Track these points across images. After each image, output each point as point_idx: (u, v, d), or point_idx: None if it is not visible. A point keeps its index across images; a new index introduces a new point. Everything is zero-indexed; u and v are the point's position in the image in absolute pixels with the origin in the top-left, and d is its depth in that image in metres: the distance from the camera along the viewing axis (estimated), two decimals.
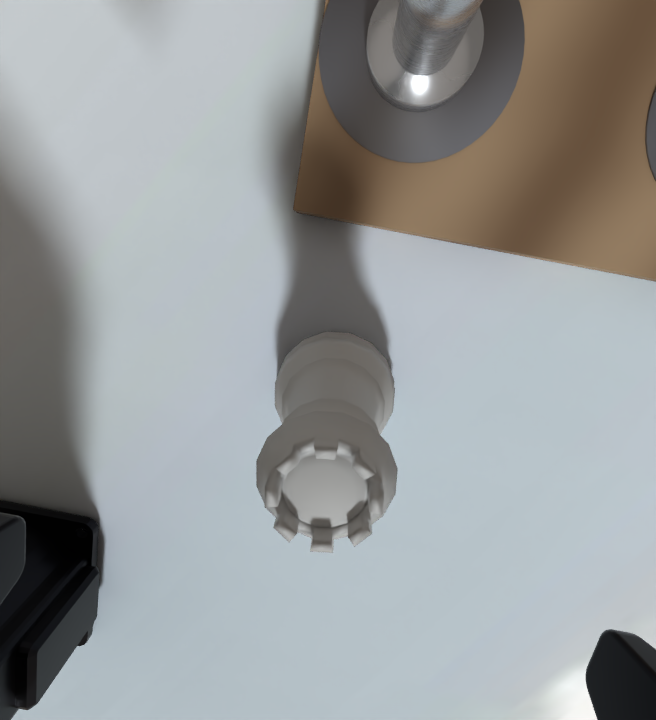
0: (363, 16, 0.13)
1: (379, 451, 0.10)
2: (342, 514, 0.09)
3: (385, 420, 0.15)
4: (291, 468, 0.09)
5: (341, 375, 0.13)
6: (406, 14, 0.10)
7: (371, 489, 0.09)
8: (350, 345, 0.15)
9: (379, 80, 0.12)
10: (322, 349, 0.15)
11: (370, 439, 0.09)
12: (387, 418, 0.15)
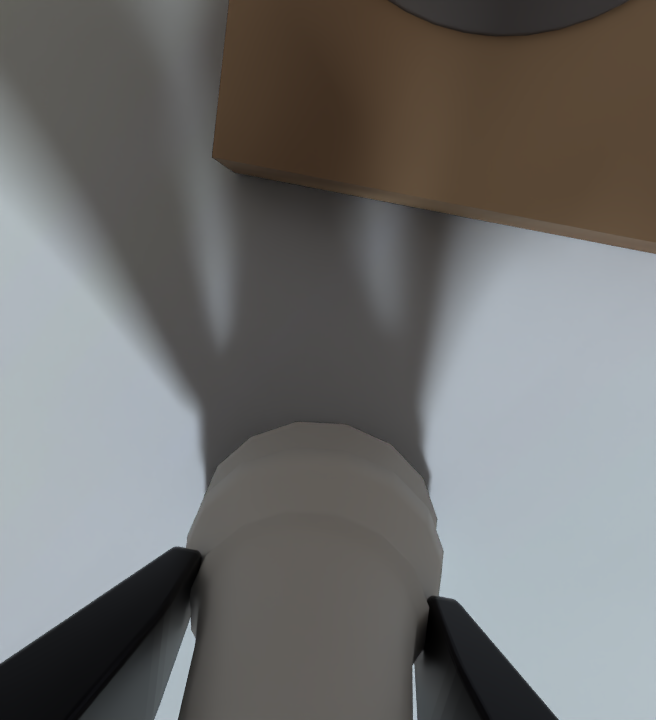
0: None
1: None
2: None
3: None
4: None
5: (324, 578, 0.05)
6: None
7: None
8: (348, 469, 0.06)
9: None
10: (284, 480, 0.06)
11: None
12: None
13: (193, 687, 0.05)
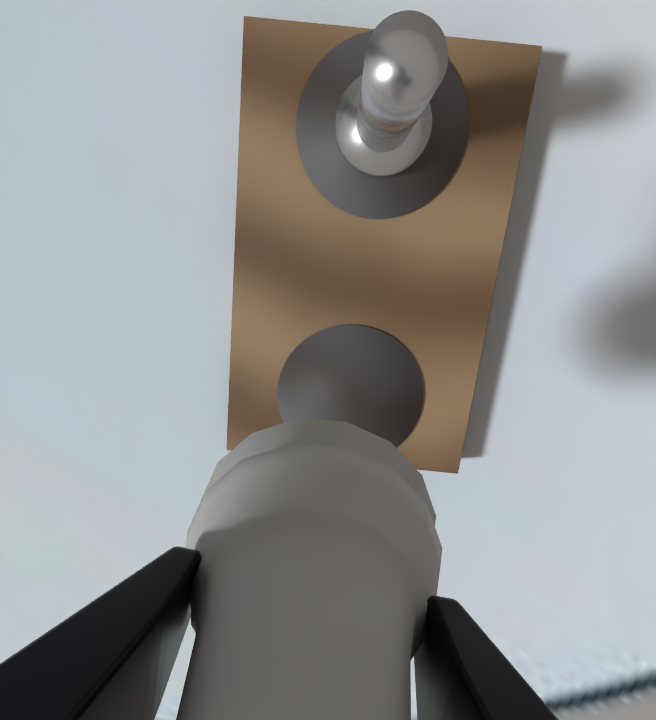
0: None
1: None
2: None
3: None
4: None
5: (324, 573, 0.05)
6: None
7: None
8: (347, 465, 0.06)
9: (351, 84, 0.14)
10: (284, 476, 0.06)
11: None
12: None
13: (193, 679, 0.05)
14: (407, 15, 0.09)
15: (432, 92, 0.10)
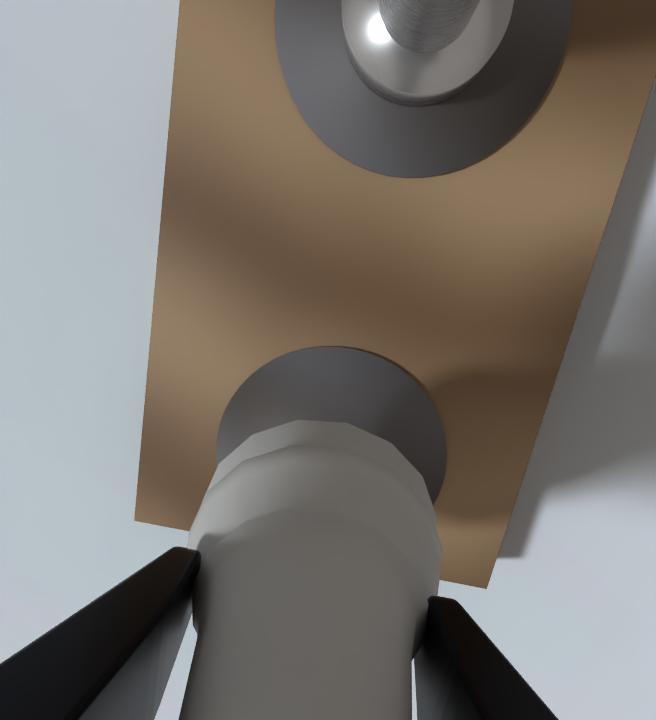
0: None
1: None
2: None
3: None
4: None
5: (325, 574, 0.05)
6: None
7: None
8: (348, 467, 0.07)
9: None
10: (285, 477, 0.06)
11: None
12: None
13: (195, 680, 0.05)
14: None
15: None
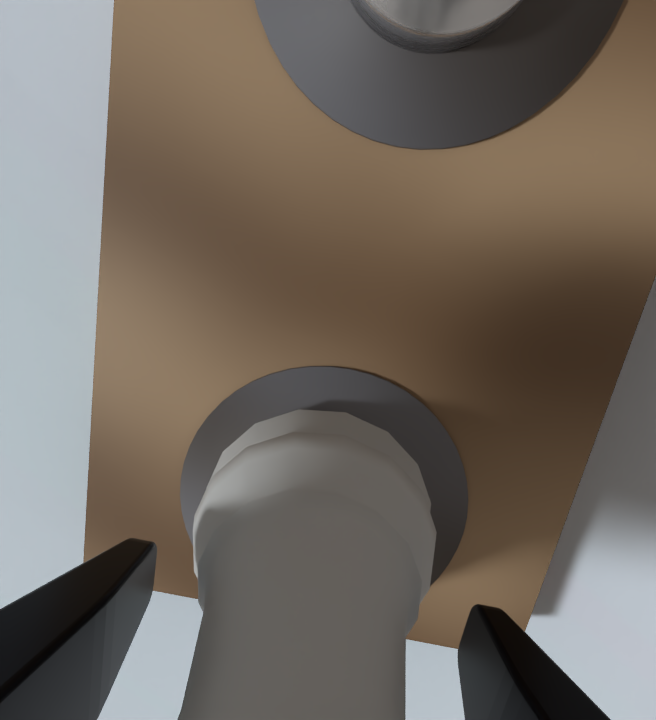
0: None
1: None
2: None
3: None
4: None
5: (324, 549, 0.06)
6: None
7: None
8: (347, 452, 0.07)
9: None
10: (287, 461, 0.07)
11: None
12: (422, 597, 0.07)
13: (204, 643, 0.05)
14: None
15: None
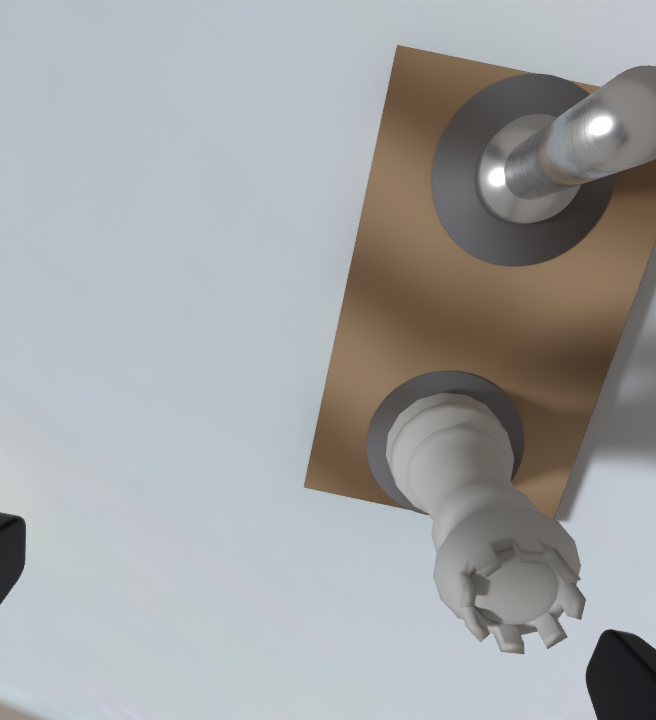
0: None
1: (570, 550, 0.09)
2: (532, 614, 0.09)
3: None
4: (494, 571, 0.09)
5: (477, 447, 0.13)
6: (555, 119, 0.11)
7: (567, 591, 0.09)
8: (475, 411, 0.15)
9: (505, 127, 0.13)
10: (447, 415, 0.15)
11: (561, 538, 0.09)
12: None
13: (437, 477, 0.13)
14: (649, 70, 0.08)
15: None
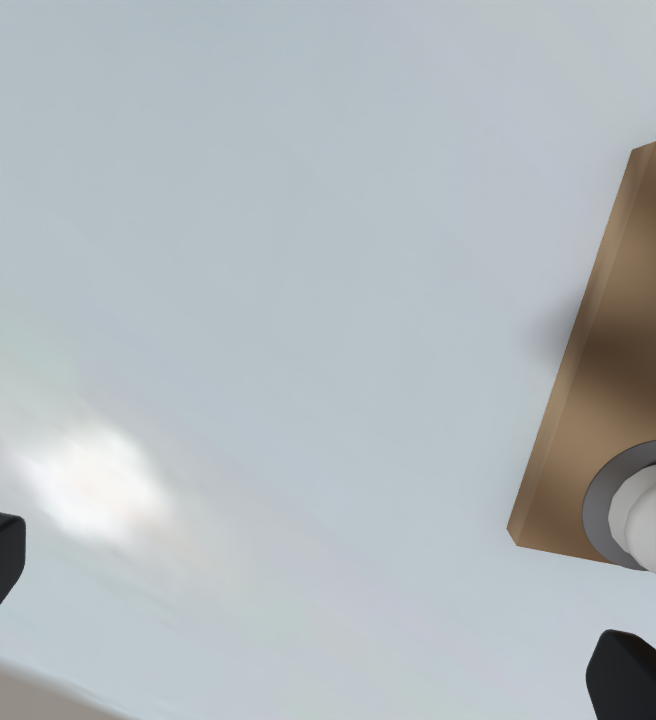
0: None
1: None
2: None
3: None
4: None
5: None
6: None
7: None
8: None
9: None
10: None
11: None
12: None
13: None
14: None
15: None
